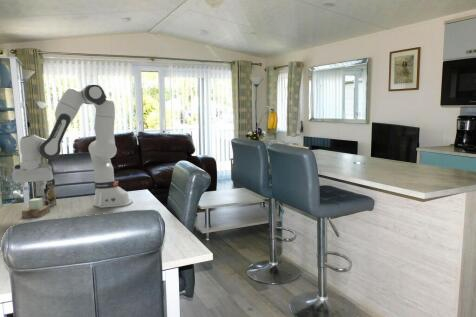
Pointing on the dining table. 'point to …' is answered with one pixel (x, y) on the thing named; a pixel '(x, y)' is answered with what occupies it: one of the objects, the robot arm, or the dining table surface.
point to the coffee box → (46, 192)
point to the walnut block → (35, 212)
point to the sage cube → (35, 203)
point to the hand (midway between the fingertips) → (34, 189)
